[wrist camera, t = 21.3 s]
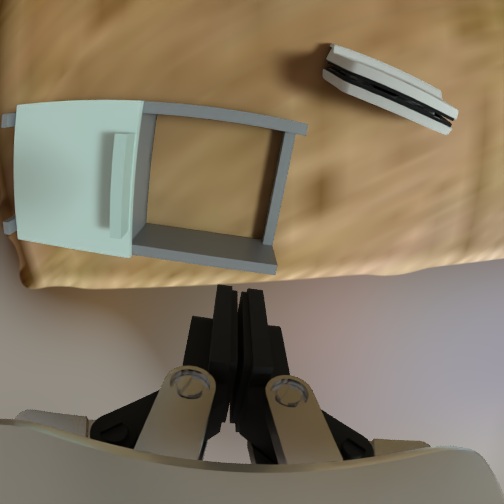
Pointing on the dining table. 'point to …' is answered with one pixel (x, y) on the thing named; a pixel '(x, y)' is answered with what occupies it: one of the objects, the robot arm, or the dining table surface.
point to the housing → (193, 241)
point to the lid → (77, 173)
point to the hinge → (388, 88)
